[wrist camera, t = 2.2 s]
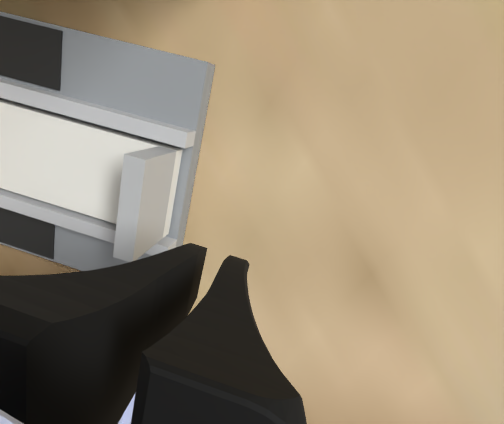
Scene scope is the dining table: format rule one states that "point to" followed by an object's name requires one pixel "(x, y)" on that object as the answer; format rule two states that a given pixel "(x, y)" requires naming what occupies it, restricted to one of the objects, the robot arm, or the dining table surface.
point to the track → (100, 114)
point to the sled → (91, 173)
